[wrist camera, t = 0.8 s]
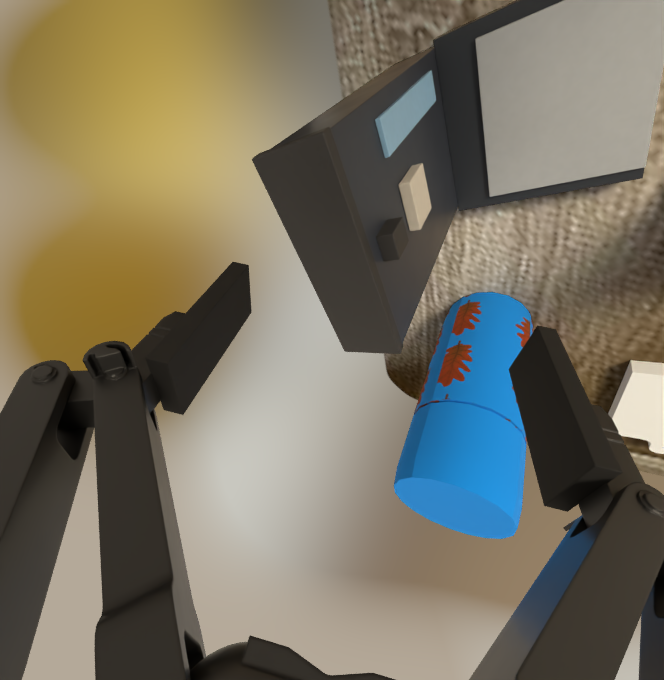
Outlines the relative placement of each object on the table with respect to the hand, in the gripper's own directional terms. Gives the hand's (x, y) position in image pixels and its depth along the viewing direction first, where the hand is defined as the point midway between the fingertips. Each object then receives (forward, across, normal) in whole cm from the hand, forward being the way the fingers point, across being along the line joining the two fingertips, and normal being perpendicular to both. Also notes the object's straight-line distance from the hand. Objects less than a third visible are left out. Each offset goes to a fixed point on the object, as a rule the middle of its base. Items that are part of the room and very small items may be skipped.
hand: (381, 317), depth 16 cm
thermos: (+26, +15, -16) cm, 35 cm away
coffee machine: (+24, +8, +6) cm, 26 cm away
